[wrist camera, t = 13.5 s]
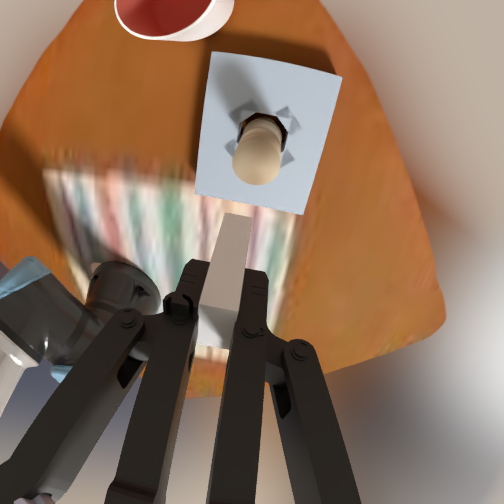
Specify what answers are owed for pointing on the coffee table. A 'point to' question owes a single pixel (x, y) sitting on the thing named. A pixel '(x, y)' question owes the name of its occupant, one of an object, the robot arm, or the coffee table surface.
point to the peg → (258, 152)
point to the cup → (173, 18)
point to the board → (268, 102)
